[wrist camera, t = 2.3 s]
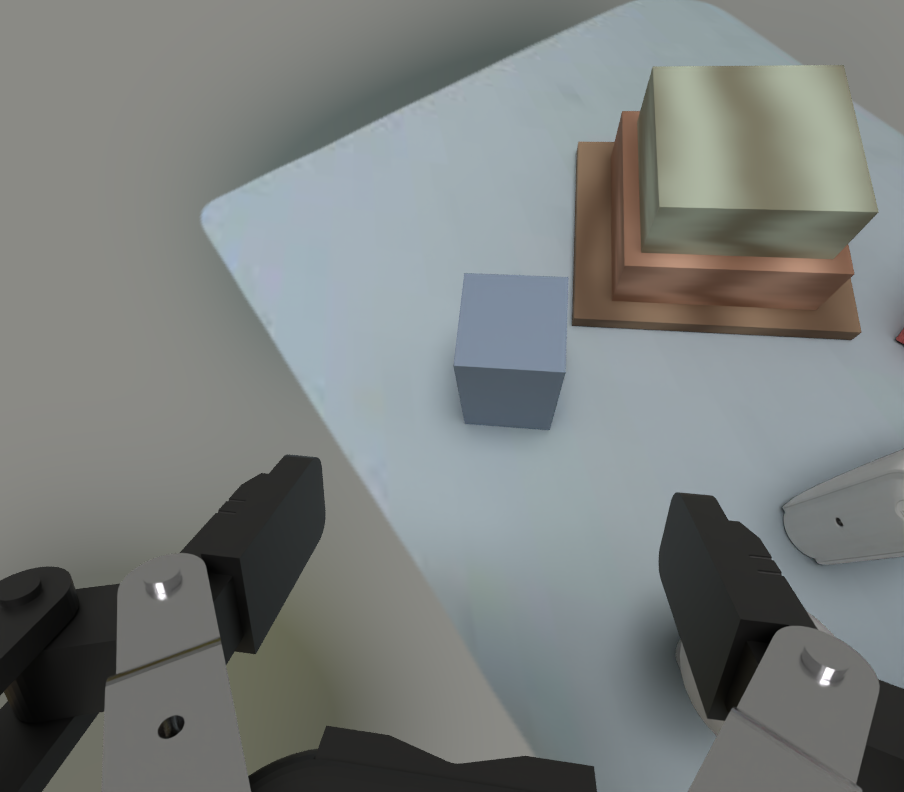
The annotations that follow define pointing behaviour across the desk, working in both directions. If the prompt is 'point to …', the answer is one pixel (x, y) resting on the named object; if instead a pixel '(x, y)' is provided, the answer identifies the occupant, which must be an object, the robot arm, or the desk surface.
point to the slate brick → (511, 349)
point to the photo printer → (851, 514)
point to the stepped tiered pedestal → (725, 206)
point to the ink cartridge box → (901, 337)
